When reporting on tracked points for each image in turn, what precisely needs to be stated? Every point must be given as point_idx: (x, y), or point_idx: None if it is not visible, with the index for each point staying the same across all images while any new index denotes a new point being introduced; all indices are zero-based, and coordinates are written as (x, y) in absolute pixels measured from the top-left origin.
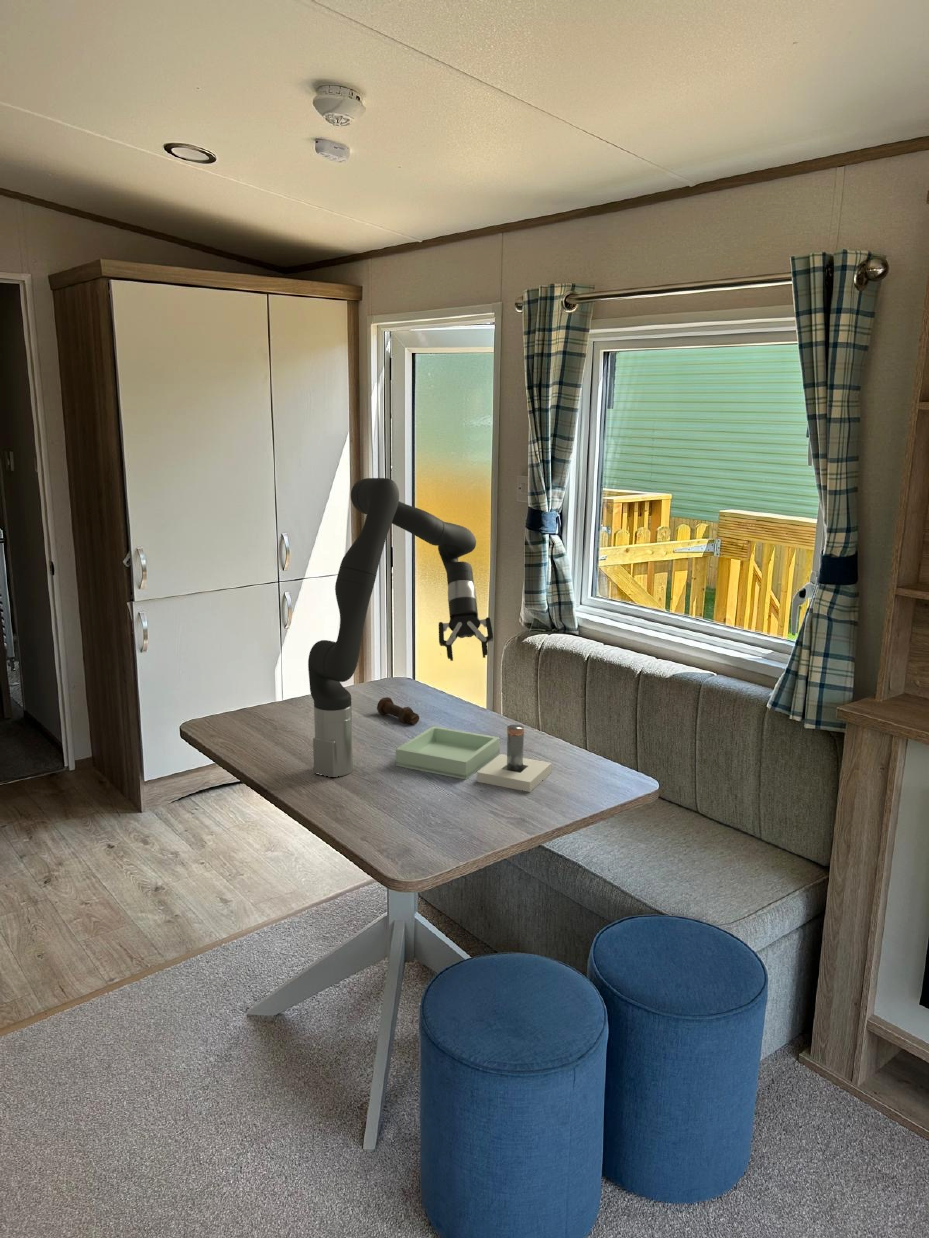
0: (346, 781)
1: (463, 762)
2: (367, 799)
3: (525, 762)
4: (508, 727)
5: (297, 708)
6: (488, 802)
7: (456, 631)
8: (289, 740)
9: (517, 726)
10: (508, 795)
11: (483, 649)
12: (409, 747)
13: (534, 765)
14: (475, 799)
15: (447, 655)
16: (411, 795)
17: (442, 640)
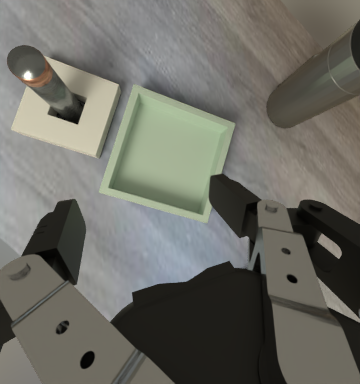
0: (264, 80)
1: (138, 86)
2: (231, 34)
3: (53, 126)
4: (42, 58)
5: None
6: (97, 30)
7: (278, 267)
8: (352, 191)
9: (22, 66)
10: (74, 52)
11: (59, 217)
12: (220, 146)
13: (38, 116)
14: (114, 38)
15: (237, 182)
16: (189, 46)
17: (313, 211)
